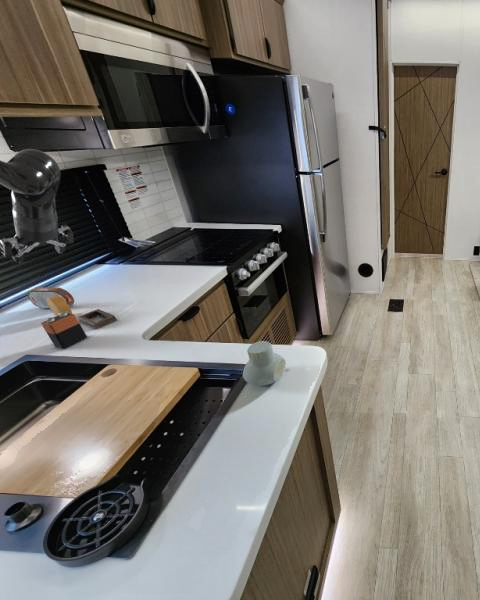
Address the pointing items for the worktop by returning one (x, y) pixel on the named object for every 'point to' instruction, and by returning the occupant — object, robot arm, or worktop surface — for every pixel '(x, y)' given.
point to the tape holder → (86, 320)
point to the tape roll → (58, 305)
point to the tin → (48, 296)
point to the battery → (64, 330)
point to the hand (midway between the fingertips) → (39, 256)
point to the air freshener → (263, 364)
